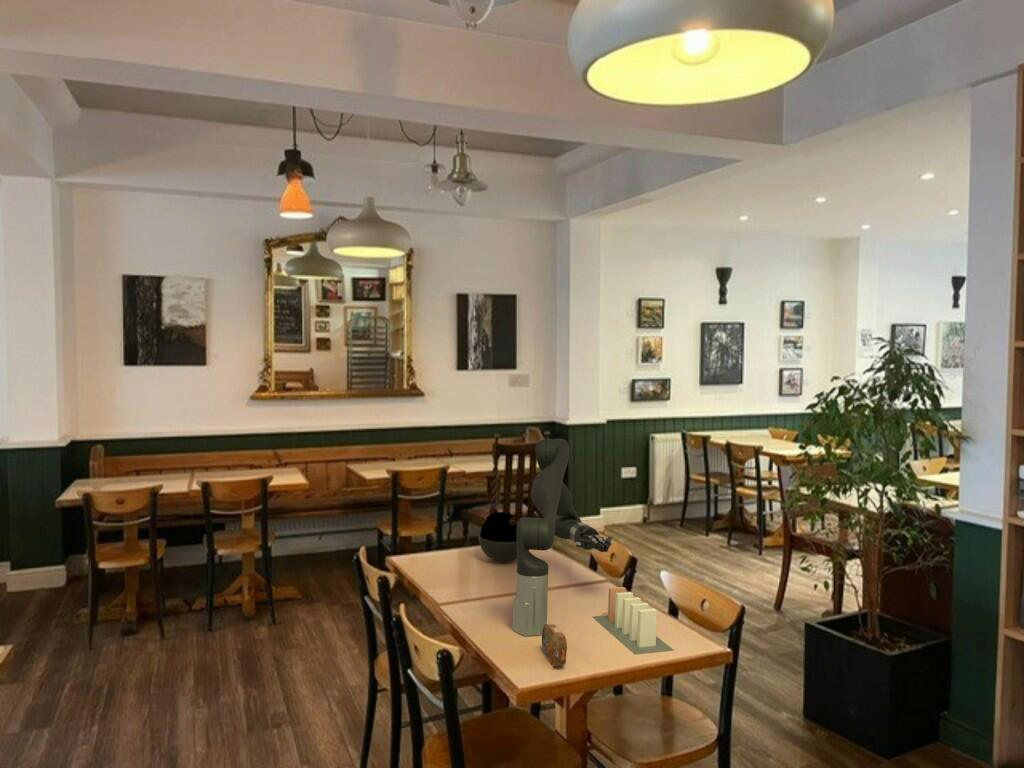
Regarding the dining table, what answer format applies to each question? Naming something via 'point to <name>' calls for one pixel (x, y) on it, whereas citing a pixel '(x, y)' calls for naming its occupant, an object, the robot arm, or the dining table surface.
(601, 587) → the dining table surface
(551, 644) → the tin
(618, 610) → the domino
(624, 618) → the domino
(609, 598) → the domino
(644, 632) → the domino
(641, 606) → the domino
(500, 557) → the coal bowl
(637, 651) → the mat
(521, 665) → the dining table surface
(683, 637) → the dining table surface
